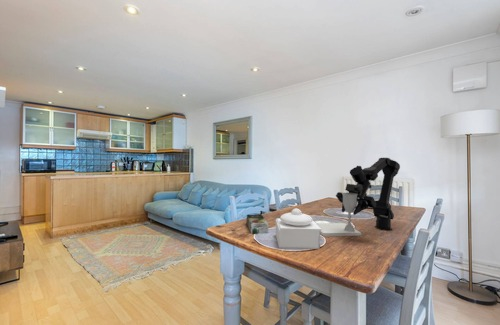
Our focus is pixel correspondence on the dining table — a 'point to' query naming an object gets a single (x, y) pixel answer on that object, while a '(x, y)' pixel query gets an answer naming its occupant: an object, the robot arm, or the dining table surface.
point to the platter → (336, 230)
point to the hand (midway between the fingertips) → (348, 213)
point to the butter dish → (297, 231)
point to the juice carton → (257, 224)
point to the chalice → (349, 208)
